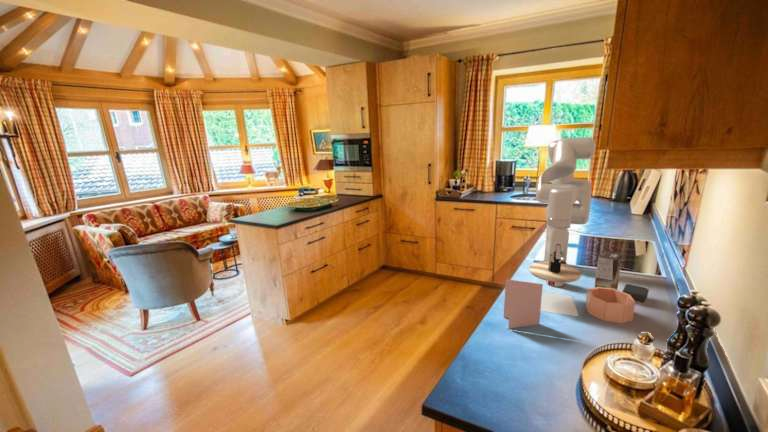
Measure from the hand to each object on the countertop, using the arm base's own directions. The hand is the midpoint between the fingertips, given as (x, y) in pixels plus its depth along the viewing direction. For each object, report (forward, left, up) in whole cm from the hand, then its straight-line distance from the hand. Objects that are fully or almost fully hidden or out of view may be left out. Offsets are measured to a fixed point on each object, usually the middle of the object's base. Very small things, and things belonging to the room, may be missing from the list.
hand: (554, 268), depth 122 cm
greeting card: (+21, -11, -14) cm, 27 cm away
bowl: (+3, +18, -14) cm, 23 cm away
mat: (+1, 0, -14) cm, 14 cm away
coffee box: (-15, +21, -14) cm, 30 cm away
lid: (0, 0, -1) cm, 1 cm away
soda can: (-17, +3, -14) cm, 23 cm away
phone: (-19, +31, -14) cm, 39 cm away
